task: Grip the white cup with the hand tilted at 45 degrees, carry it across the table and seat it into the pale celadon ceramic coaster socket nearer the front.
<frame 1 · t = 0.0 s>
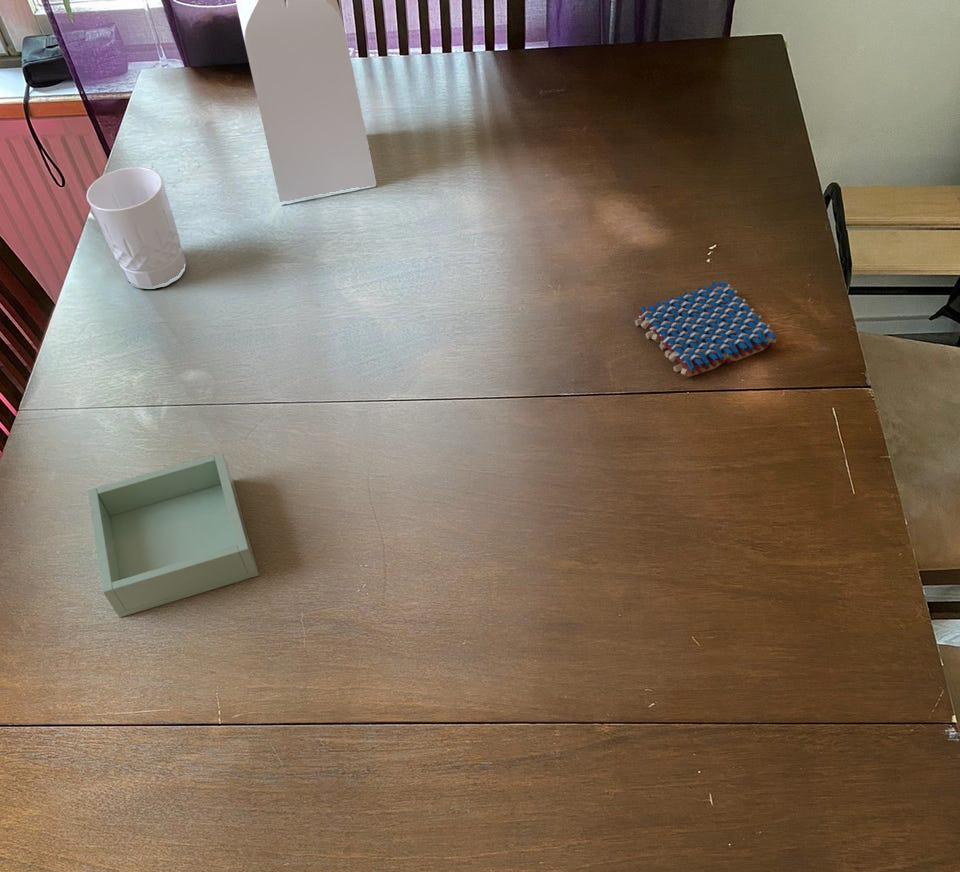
milk: (322, 171, 121), on the table
woven mat: (703, 337, 99), on the table
coaster socket: (178, 545, 88), on the table
white cup: (157, 273, 112), on the table
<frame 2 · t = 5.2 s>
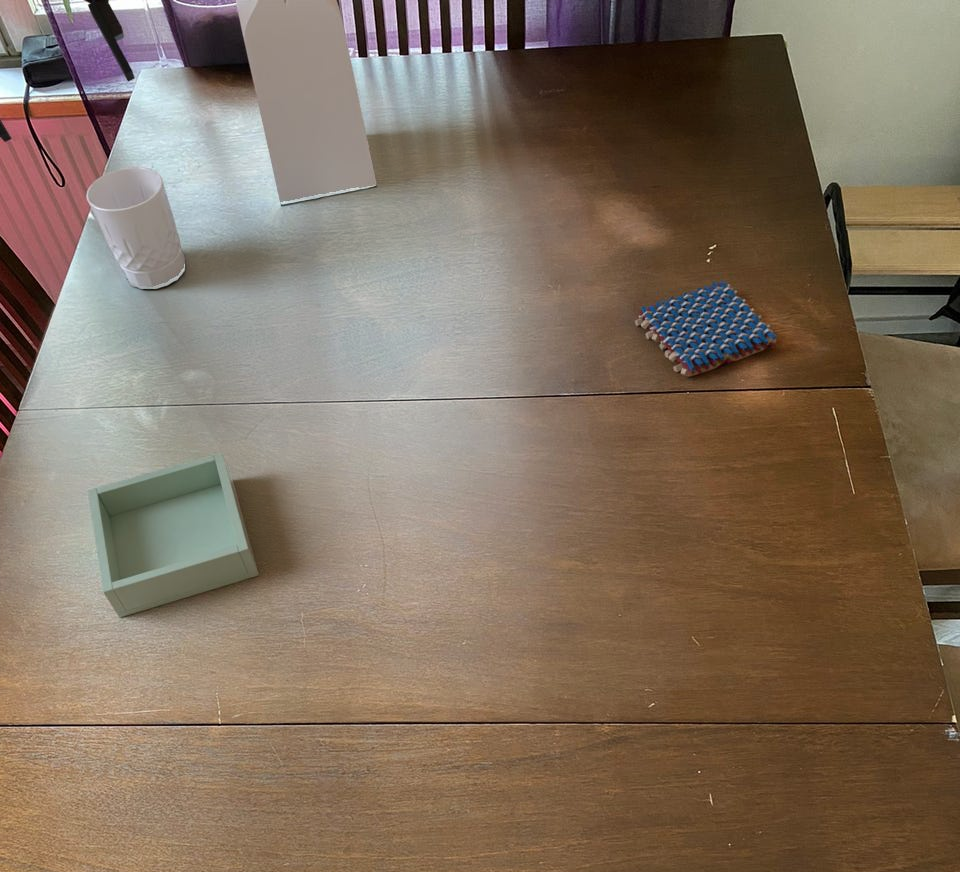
hand: (68, 107, 99), 17 cm above the table, tool tilted 40°, fingers open, 13 cm apart
nothing on the table moved.
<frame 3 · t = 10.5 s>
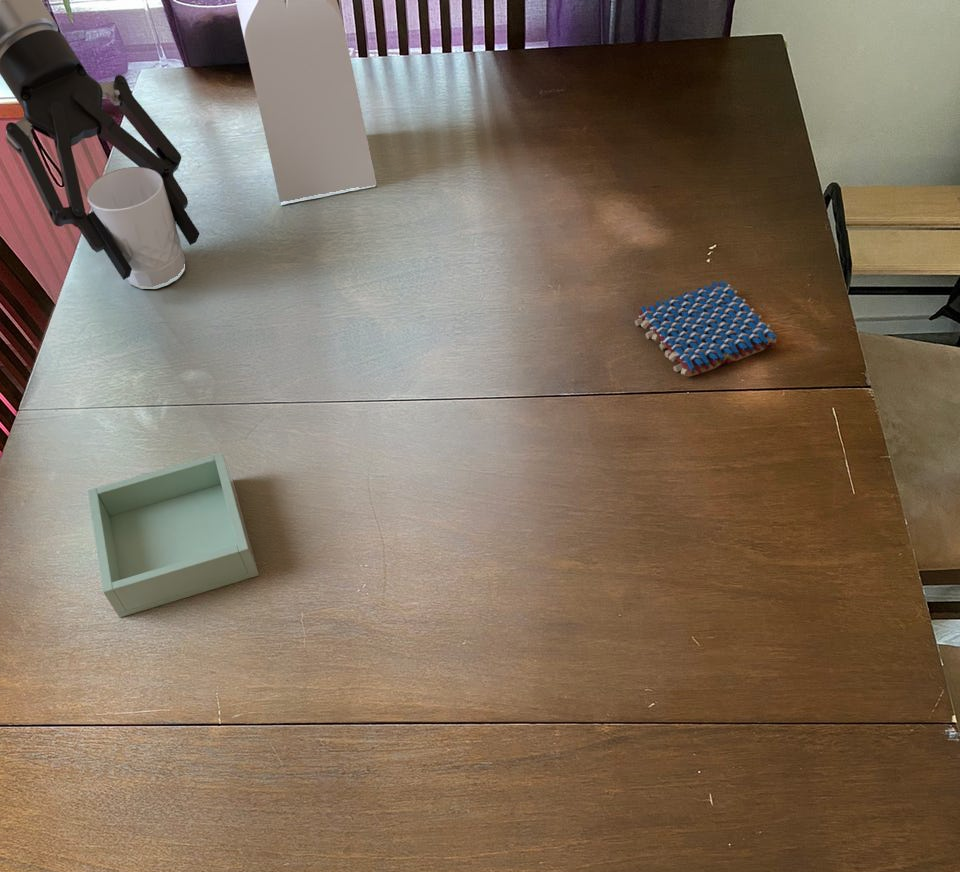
hand: (161, 256, 107), 4 cm above the table, tool tilted 45°, fingers closed on white cup, 8 cm apart
white cup: (157, 273, 112), on the table, touching gripper
everything else where it was.
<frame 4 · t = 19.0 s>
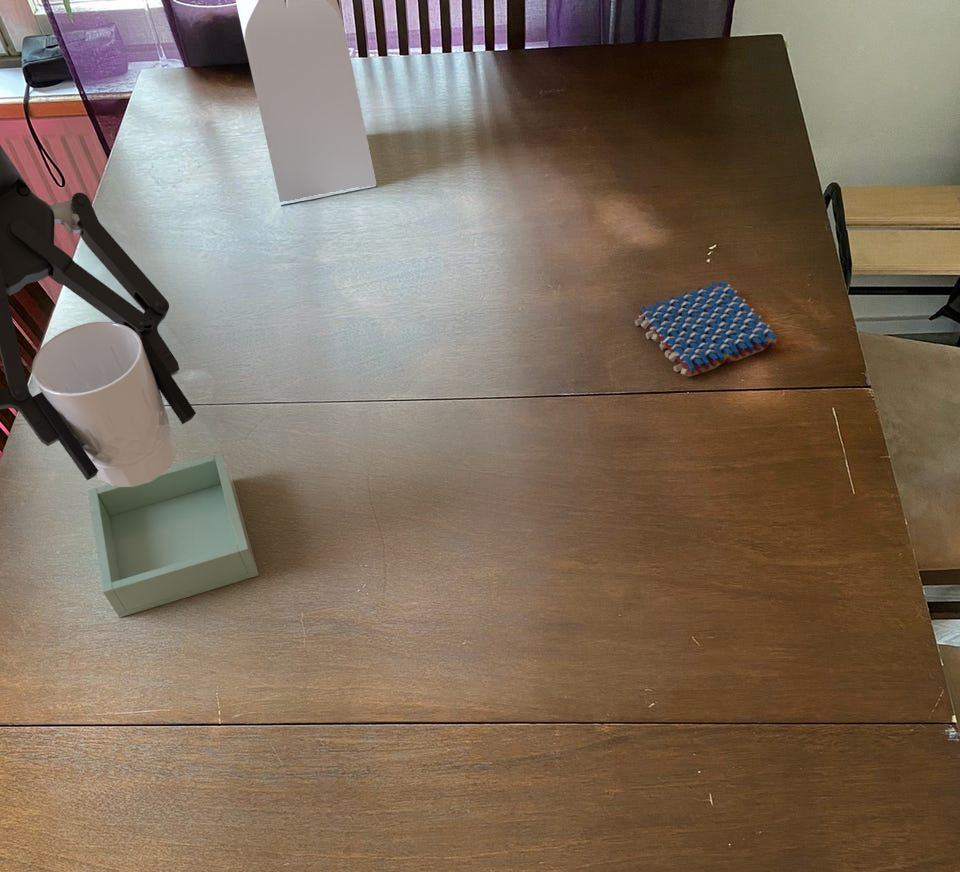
hand: (141, 446, 75), 14 cm above the table, tool tilted 45°, fingers closed on white cup, 8 cm apart
white cup: (137, 459, 80), point 11 cm above the table, touching gripper
everything else where it was.
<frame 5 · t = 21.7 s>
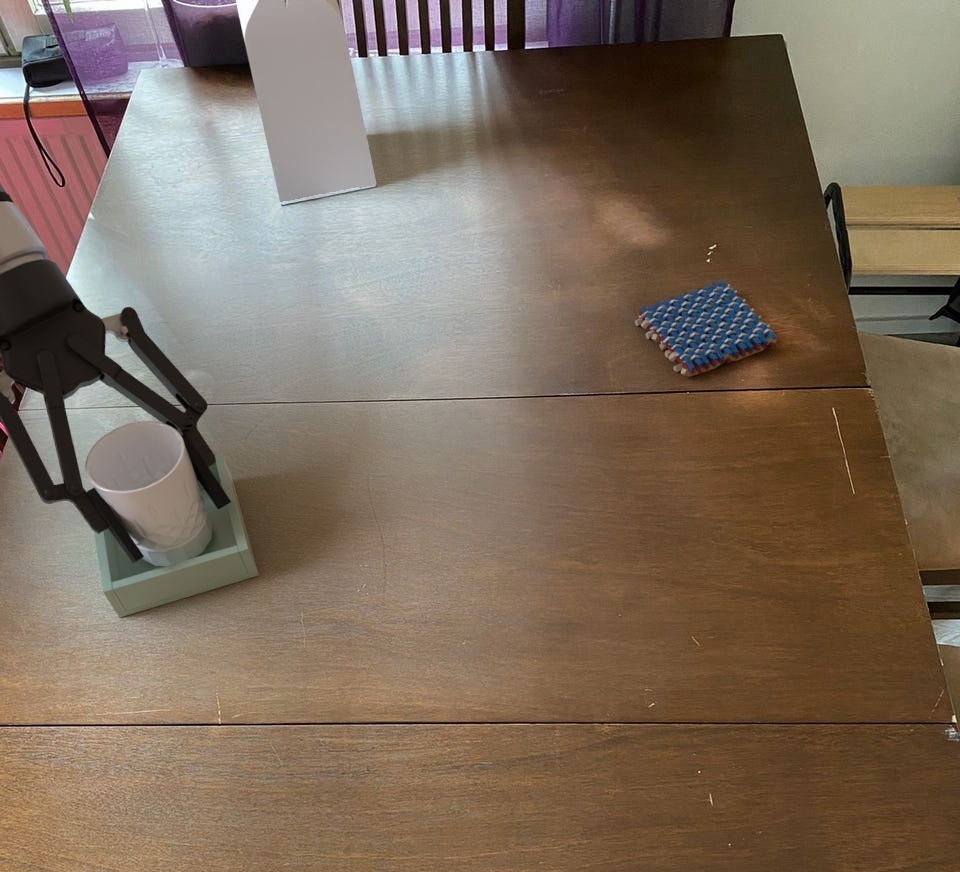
hand: (182, 532, 83), 5 cm above the table, tool tilted 45°, fingers closed on white cup, 8 cm apart
white cup: (175, 539, 87), point 1 cm above the table, touching gripper
everything else where it was.
when the fingers open (5 cm above the table, at t = 27.8 s): white cup moves 3 cm, resting on coaster socket.
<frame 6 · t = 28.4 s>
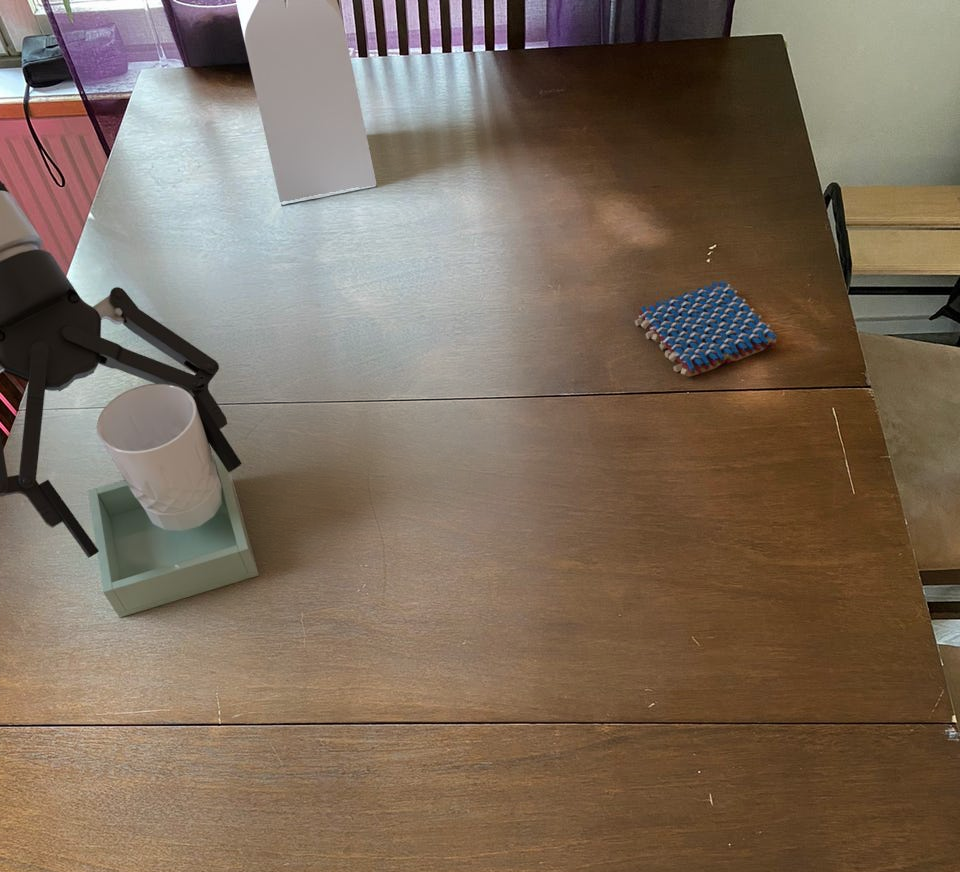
hand: (166, 510, 82), 7 cm above the table, tool tilted 45°, fingers open, 13 cm apart
white cup: (186, 504, 87), point 3 cm above the table, touching coaster socket, gripper
everything else where it was.
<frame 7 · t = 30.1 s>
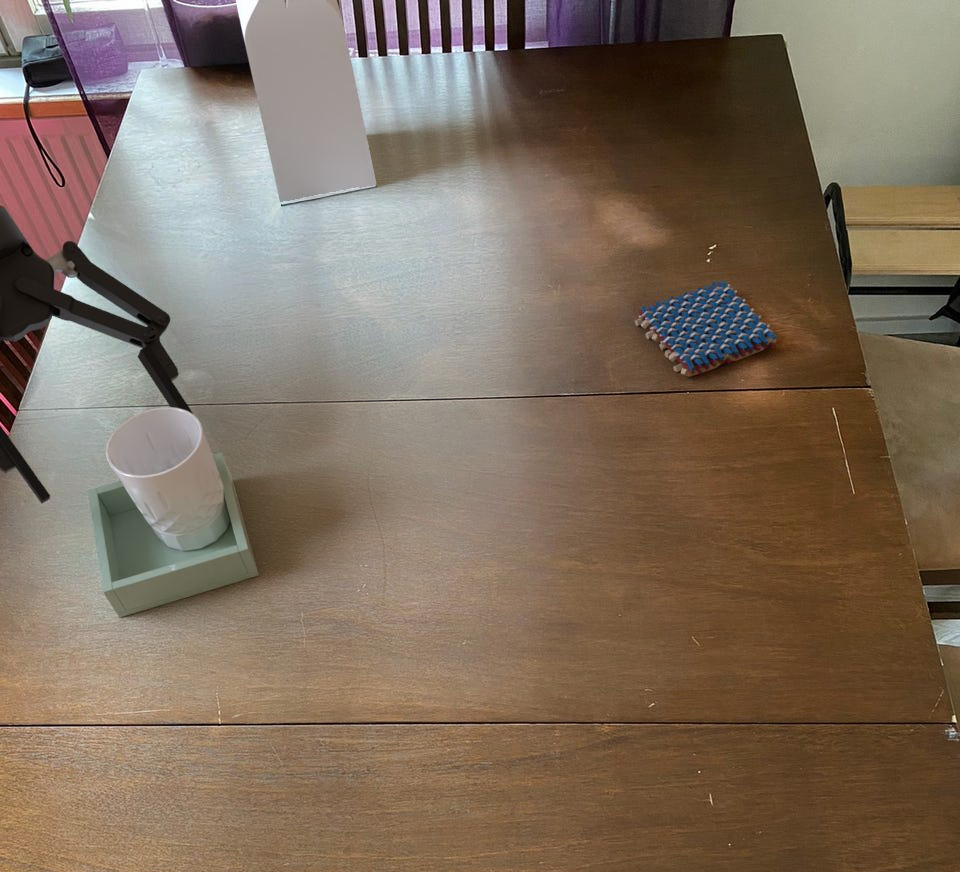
hand: (118, 458, 85), 7 cm above the table, tool tilted 45°, fingers open, 13 cm apart
white cup: (195, 523, 89), resting on coaster socket
everything else where it was.
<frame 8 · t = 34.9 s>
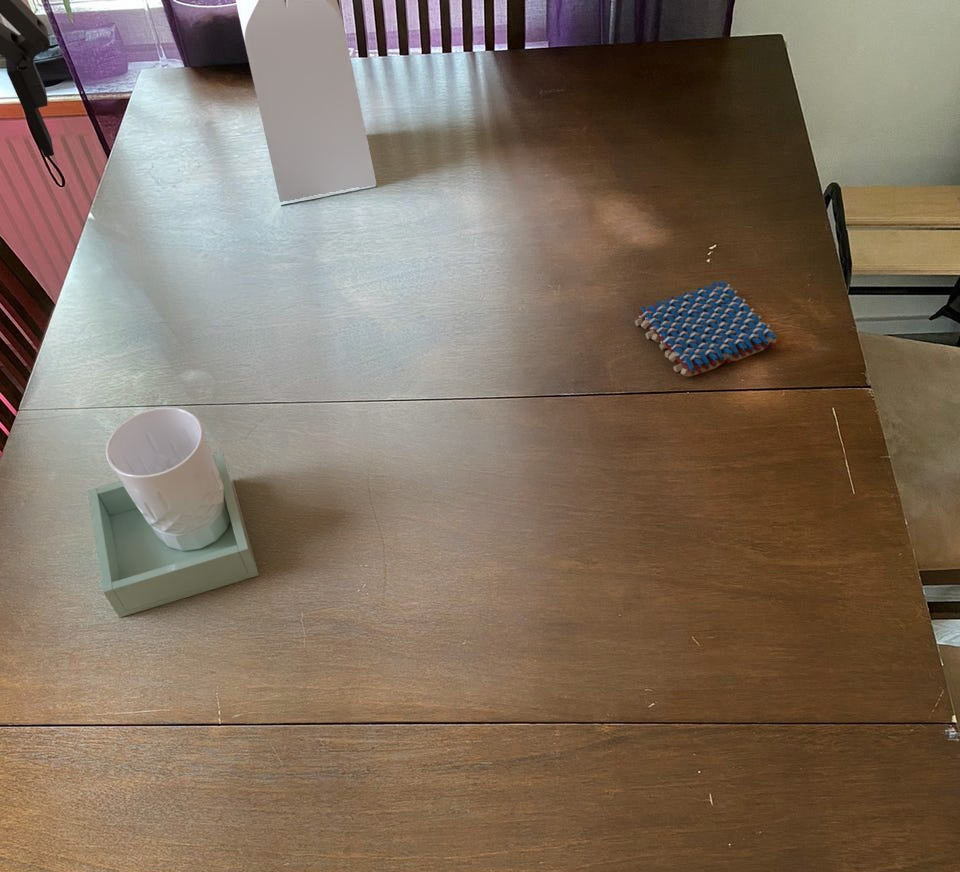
nothing on the table moved.
at the end: white cup 2.4 cm off-centre in the coaster socket, point 0.5 cm above the coaster socket's base; white cup tilted 1°; the gripper is holding nothing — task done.
